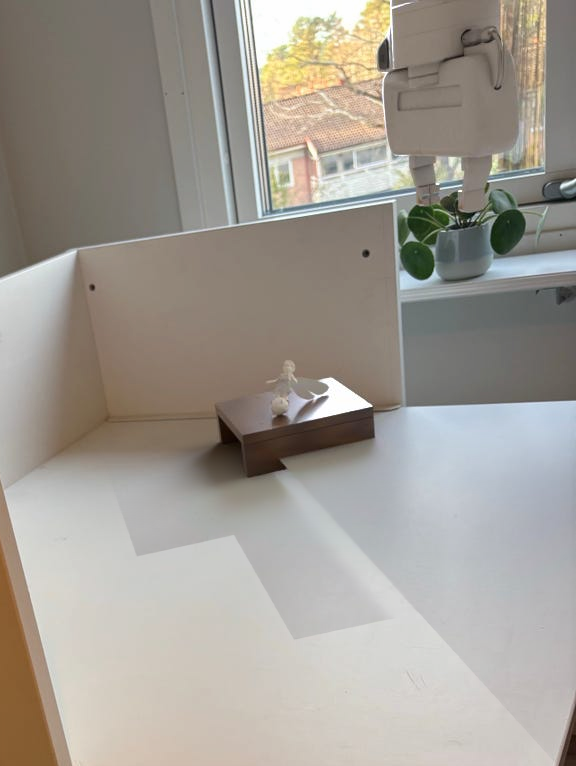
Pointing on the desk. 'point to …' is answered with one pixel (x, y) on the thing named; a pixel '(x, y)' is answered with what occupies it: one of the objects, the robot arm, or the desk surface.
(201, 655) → the desk surface
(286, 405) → the fairy figurine
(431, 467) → the desk surface
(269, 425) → the display shelf
